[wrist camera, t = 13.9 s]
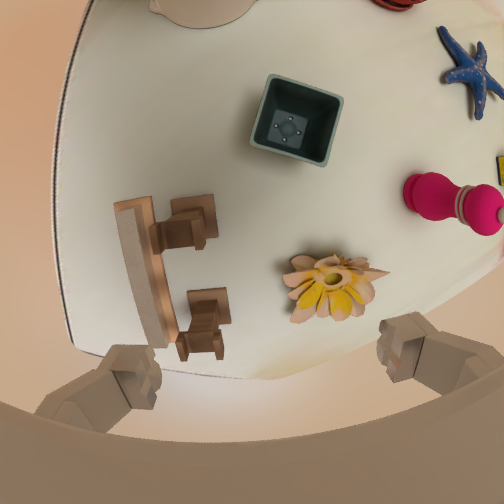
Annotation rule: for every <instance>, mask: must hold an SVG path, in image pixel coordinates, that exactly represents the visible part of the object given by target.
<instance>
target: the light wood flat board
mask: <svg viewBox="0 0 504 504" xmlns="http://www.w3.org/2000/svg"><path fill="white" fill-rule="evenodd" d="M141 205H142V212H143V218H144V223H145V229H146V234H147V240H148V245H149V250H150V255H151V259H152V264H153V269H154V273H155V278H156V282H157V286H158V290H159V294H160V298H161V302H162V306H163V310H164V314H165V318H166V321H167V325H168V329H169V332H170V336H171V339H170V342H169V343H171V342H175V341H176V338H177V336H178V333H179V328H178V325H177V321H176V317H175V313H174V309H173V305H172V301H171V296H170V292H169V288H168V283H167V279H166V274H165V269H164V265H163V260H162V255H161V254H158V255H153V251H152V246H151V240H150V235H149V230H148V227H149V226H151V225H152V224H154V223H156V222H155V216H154V210H153V203H152V197H151V196H149V197H144V198H138V199H133V200H127V201H122V202H117V203H114V209H115V212H116V211H118V210H121V209H124V208H129V207H135V206H141Z"/></svg>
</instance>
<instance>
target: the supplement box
mask: <svg viewBox="0 0 504 504" xmlns="http://www.w3.org/2000/svg"><path fill="white" fill-rule="evenodd" d="M496 159H497V166H498V175H499V185H501V186H504V156H501V157H496Z"/></svg>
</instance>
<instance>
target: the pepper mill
mask: <svg viewBox="0 0 504 504" xmlns="http://www.w3.org/2000/svg"><path fill="white" fill-rule="evenodd" d="M404 200H405V203H406V205H407V206H408V207H409V209H411V210H412V211H414V212H417V213H419V214H420V215H421V216H422V217H424V218H425V219H428V220H432V221H440V220H444V219H446V218H449V217H454V218H458V220H459V221H460V222H461V223H462V224H465V225H467V226H470V227H471V228H472V230H474V231H475V232H476V233H478V234H480V235H484V236H490V235H493V234H495V233H497V232H498V231H499V230H500V228H501V227H502V225H503V224H504V199H503V196H502V195H501V193H500V192H499V191H498V190H497V189H496V188H494V187H493V186H490V185H486V184H481V185H478V186H476V187H475V186H470V185H466V186H463V187H462V188H461V187H458V186H456V185H454V184H453V183H452V182H451V181H450V180H449V179H448V178H447V177H445V176H443V175H441V174H439V173H434V172H429V173H426V174H415V175H413V176H411V177H410V178H409V179H408V180H407V181H406V184H405V186H404Z"/></svg>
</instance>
